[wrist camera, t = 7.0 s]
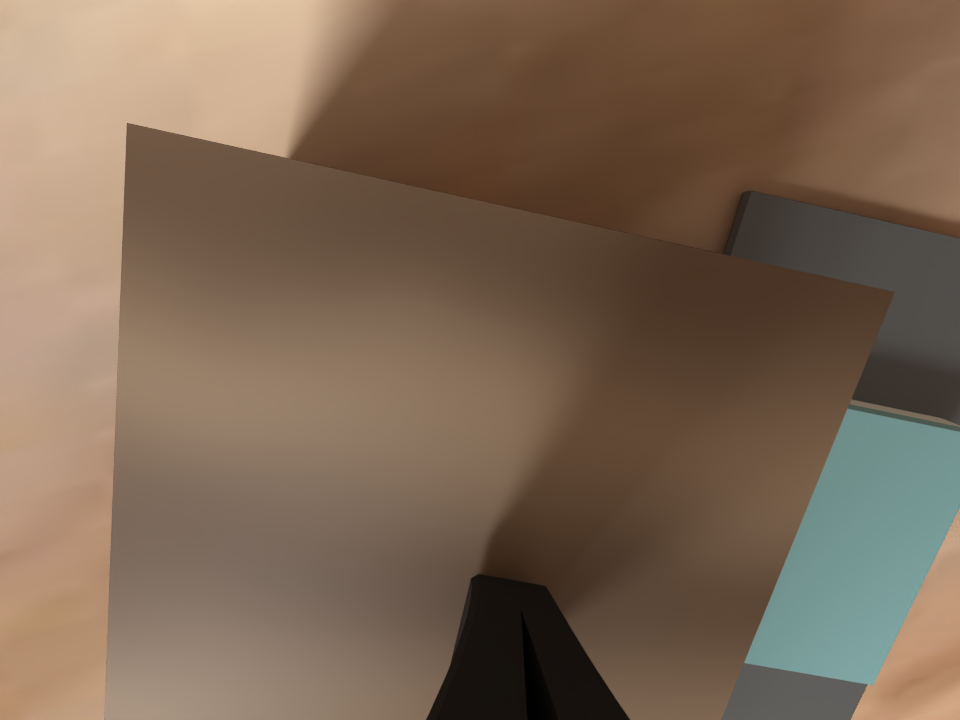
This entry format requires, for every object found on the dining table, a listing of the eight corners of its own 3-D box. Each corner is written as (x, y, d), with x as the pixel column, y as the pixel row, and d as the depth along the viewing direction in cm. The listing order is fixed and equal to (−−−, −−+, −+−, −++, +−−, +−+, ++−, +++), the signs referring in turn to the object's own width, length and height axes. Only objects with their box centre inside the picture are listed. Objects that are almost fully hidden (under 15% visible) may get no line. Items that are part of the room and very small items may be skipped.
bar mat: (816, 762, 18) (824, 773, 18) (573, 722, 18) (575, 733, 17) (1054, 263, 14) (1071, 263, 14) (743, 192, 13) (751, 190, 13)
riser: (588, 676, 17) (645, 904, 11) (232, 617, 17) (100, 825, 11) (719, 266, 14) (894, 292, 8) (280, 170, 13) (126, 122, 7)
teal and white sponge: (711, 657, 15) (690, 619, 16) (872, 685, 15) (838, 645, 16) (811, 401, 13) (777, 384, 14) (993, 438, 13) (941, 418, 15)
